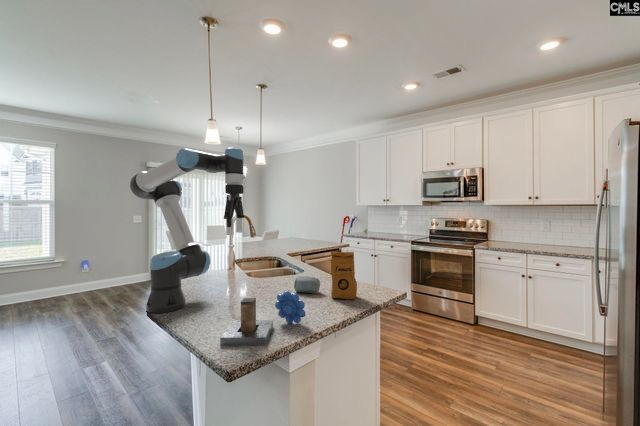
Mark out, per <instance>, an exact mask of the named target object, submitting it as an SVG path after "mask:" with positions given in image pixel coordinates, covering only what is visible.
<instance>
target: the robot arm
mask: <svg viewBox="0 0 640 426" xmlns="http://www.w3.org/2000/svg"><path fill="white" fill-rule="evenodd" d="M194 170H197V171H198V170H199V171H205V172H206V173H210V174H216V173H225V174H224V177H225V178H224V179H225V180H224V183H225V184H226V185H225V188H224V189H225V194H226V203H225V208H224V214H223V220H225V228H226V229H225V230H226V231H225V233H226V235H225V236H234V218H233V217H234V214H235V216H236V218H235V233H239V234H240V233H243V227H244V226H243V225H244V224H243V219H244V218H245V213H244V207H243V201H242V200H243V197H242V196H240V195H243V194H244V191H245V190H244V188H245V187H244V185H243V184H244V179H245V176H244V151H243V150H242V149H241V148H238V147H227V148H225V149H224V153H223V154H213V153H209V152H204V151H200V150H196V149H191V148H180V149H179V150H178V152H177V153H176V157H174V158H172V159H169V160H167V161H166V162H164V163H162V164H160V165H157V166H156V167H154V168H152V169H149V170H148V171H139V172H138V173H136V174H135V175H133V176H132V177H131V179H130V182H129V188H130V191H131V193H133V195H134V196H136V197H137V198H140V199H143V200H153V202H154V205H155V206H156V207H159V208H160V210H161V213H162V216H163V218H164V220H165V223H166V225H167V229H168V231H169V233H170V236H171V239H172V242H173V244H174V247H175V249H176V250H173V251H167V252H166V251H164V252H161V253H158V254H155V255H154V256H152V257H151V259H150V263H149V264H150V265H149V268H150V269H149V270H150V293H149V296H148V299H147V301H146V304H145V309H146V312H147V313H151V314H152V313H153V314H161V313H168V312H174V311H177V310H181V309H182V308H185V306H186V305H187V303H186V297H185V294H184V292H183V289H182V280H186V279H188V278H193V277H199V276H201V275H203V274H205V273H207V272H208V271H209V269H210V266H211V256H210V254H209V252H208V251H206V250H204V249H202V248H201V245H200V244H199V243H196V242H195V240H194V236H193V234H192V233H191V230H190V227H189V225H188V222H187V220H186V217H185V215H184V212H183V210H182V207H181V205H180V200H181V197H182V194H183V192H182V191H183V188H182V187H183V186H182V185H181V183H180V181H179V180H178V179H177V178H178V177H182V176H184V175H185V174H187V173H190V172H192V171H194Z"/></svg>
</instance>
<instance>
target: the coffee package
mask: <svg viewBox="0 0 640 426" xmlns="http://www.w3.org/2000/svg"><path fill="white" fill-rule="evenodd" d="M354 255H355V253H354V251H331V280H332V281H331V291H330V292H331V294H330V296H331V298H332V299H333V298H334V299H339V300H340V299H343V300H356V298H357V294H358V293H357V292H358V283H357V280H356V276H355V274H356V272H355V256H354Z"/></svg>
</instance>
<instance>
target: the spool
mask: <svg viewBox="0 0 640 426" xmlns="http://www.w3.org/2000/svg"><path fill="white" fill-rule="evenodd" d="M320 288H321V281H320V279H319V278H317V277H315V276H307V275H303V276H297V277H296V278H295V280H294V283H293V289H294V291H295V292H297V293H306V294H307V293H308V294H314V295H315V294H318V293H319V291H320Z"/></svg>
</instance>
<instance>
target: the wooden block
mask: <svg viewBox="0 0 640 426" xmlns="http://www.w3.org/2000/svg"><path fill="white" fill-rule="evenodd" d="M256 302H257V300H256V297H244V298H242V300H241V301H240V320H241V332H256V320H257V303H256Z"/></svg>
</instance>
